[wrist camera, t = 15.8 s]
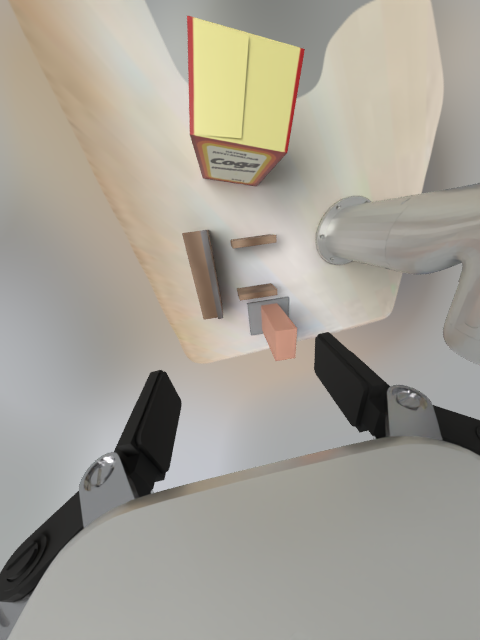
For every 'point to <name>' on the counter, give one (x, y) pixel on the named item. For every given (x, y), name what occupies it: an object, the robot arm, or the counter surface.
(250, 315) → the grey mat
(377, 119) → the counter surface
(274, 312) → the salmon pink block
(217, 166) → the baking soda box
